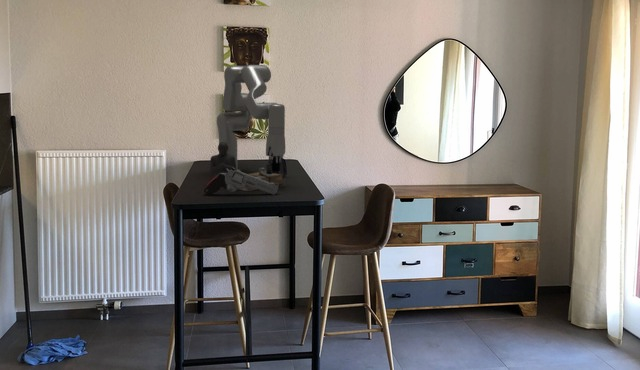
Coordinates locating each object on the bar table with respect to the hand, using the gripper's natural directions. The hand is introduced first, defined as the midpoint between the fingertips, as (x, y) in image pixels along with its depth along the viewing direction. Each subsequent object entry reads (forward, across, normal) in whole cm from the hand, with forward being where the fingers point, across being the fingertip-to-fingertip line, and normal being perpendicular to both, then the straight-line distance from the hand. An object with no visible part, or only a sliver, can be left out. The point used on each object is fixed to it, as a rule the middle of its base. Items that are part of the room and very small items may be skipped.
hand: (276, 170), depth 315 cm
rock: (+8, -25, -16) cm, 31 cm away
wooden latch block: (+7, +4, -10) cm, 13 cm away
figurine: (+8, +8, -24) cm, 27 cm away
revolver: (+8, +26, 0) cm, 27 cm away
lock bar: (+3, 0, -6) cm, 7 cm away
